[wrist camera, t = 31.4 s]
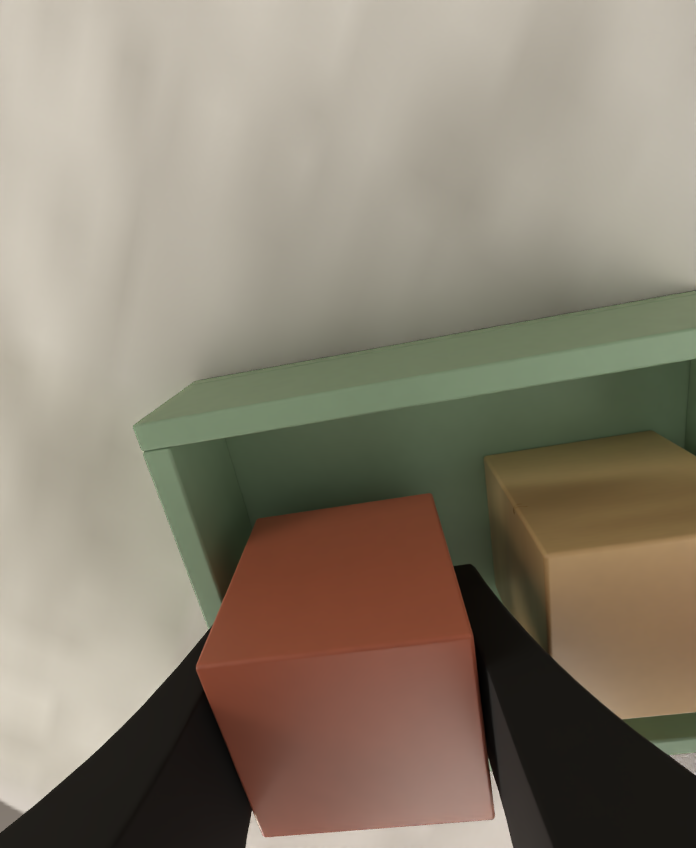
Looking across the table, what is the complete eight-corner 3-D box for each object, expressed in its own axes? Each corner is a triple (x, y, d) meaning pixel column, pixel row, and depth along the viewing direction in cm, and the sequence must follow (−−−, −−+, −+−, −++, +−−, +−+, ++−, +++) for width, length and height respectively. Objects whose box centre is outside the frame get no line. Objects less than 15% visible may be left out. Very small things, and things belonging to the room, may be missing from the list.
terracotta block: (451, 631, 12) (496, 822, 8) (295, 650, 13) (261, 839, 9) (431, 491, 11) (473, 635, 7) (255, 517, 11) (192, 667, 7)
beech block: (646, 566, 13) (775, 706, 9) (494, 585, 14) (552, 728, 9) (652, 428, 12) (810, 521, 8) (482, 455, 12) (544, 556, 8)
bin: (678, 638, 15) (769, 747, 11) (288, 682, 16) (268, 791, 13) (706, 287, 11) (853, 300, 8) (193, 380, 12) (130, 425, 9)
